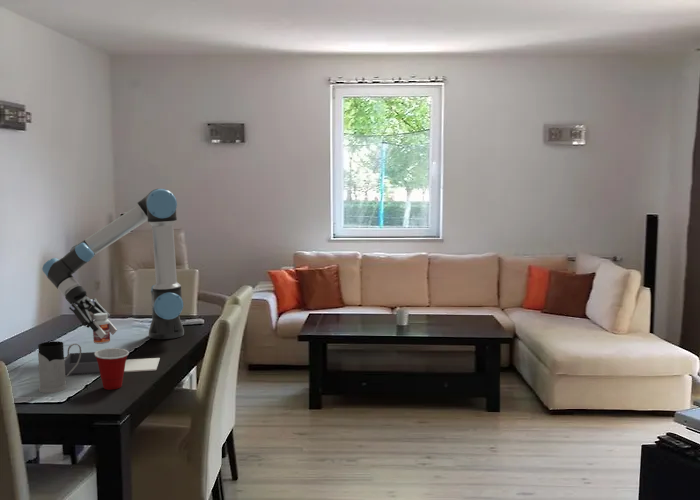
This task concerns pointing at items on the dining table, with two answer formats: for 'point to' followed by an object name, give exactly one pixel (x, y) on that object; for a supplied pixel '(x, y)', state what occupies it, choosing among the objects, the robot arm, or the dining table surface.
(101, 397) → the dining table surface
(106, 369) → the plastic cup
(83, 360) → the mailer box
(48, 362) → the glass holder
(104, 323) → the pill bottle
